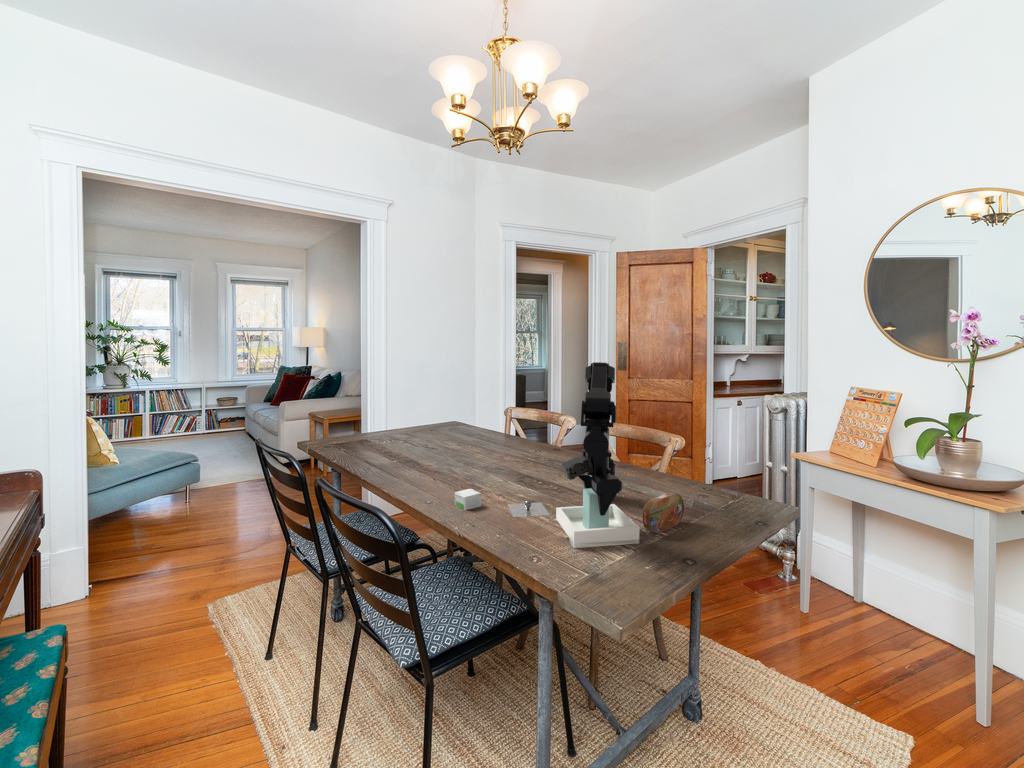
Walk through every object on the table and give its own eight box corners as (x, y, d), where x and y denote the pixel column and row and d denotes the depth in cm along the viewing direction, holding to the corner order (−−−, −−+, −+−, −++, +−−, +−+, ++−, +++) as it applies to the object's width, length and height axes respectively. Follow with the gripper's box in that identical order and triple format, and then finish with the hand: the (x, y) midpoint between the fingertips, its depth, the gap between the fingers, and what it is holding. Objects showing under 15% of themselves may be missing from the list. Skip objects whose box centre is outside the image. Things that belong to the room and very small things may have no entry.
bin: (613, 518, 132) (614, 504, 131) (639, 543, 116) (639, 527, 115) (556, 522, 129) (556, 507, 128) (573, 548, 113) (574, 531, 113)
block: (582, 525, 124) (583, 488, 123) (601, 523, 125) (602, 487, 124) (589, 533, 119) (589, 495, 118) (608, 531, 120) (609, 494, 119)
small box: (454, 508, 139) (454, 491, 139) (471, 504, 143) (471, 487, 142) (464, 514, 135) (464, 497, 134) (482, 509, 138) (482, 492, 138)
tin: (650, 537, 119) (651, 503, 119) (639, 533, 122) (640, 500, 121) (684, 522, 129) (685, 491, 128) (674, 519, 131) (675, 488, 131)
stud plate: (541, 505, 141) (541, 493, 141) (549, 518, 132) (549, 505, 131) (507, 507, 140) (507, 495, 139) (513, 520, 130) (513, 507, 130)
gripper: (555, 440, 128) (554, 498, 130) (576, 457, 110) (575, 525, 111) (596, 438, 130) (595, 495, 131) (623, 455, 112) (622, 522, 113)
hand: (595, 508), depth 122 cm, fingers open, 9 cm apart
